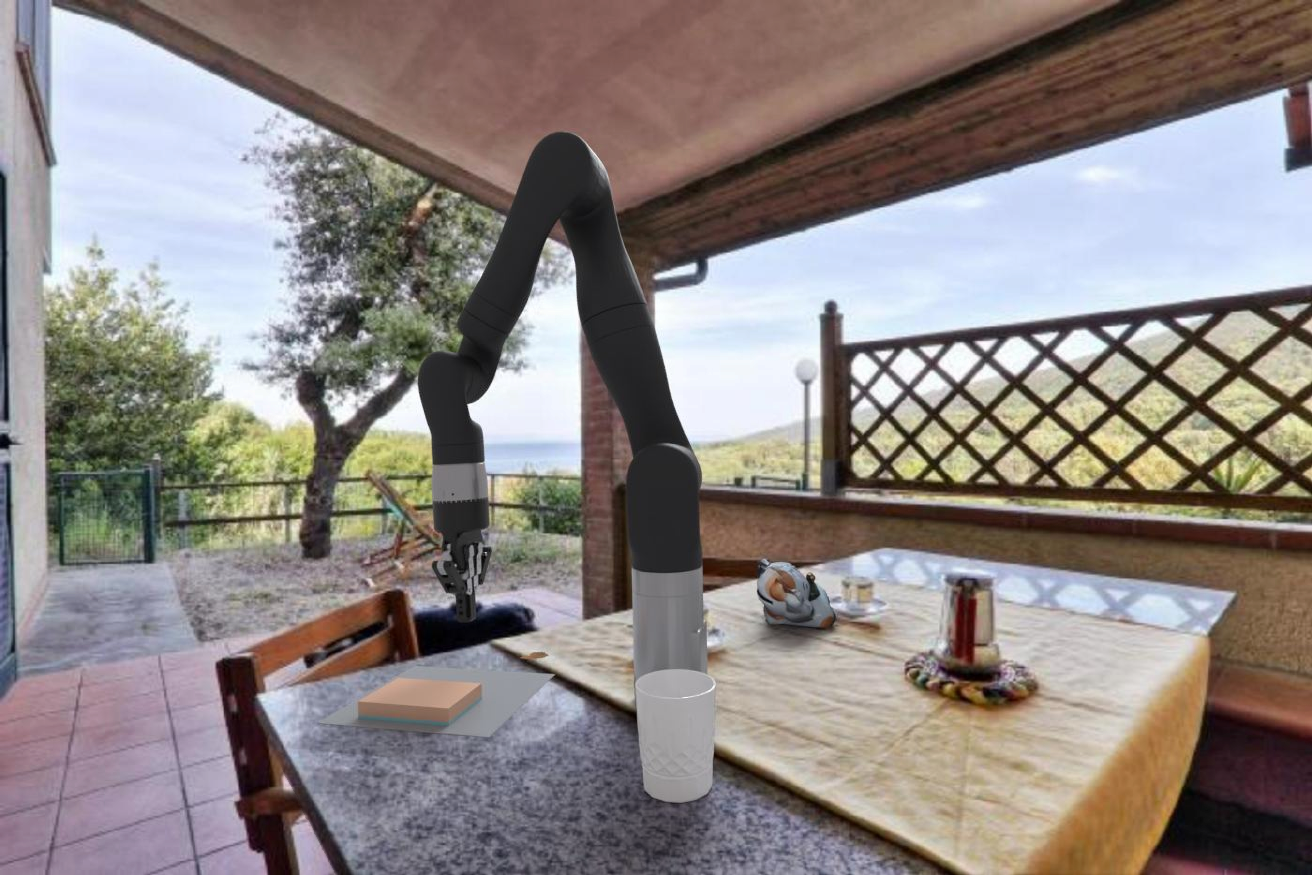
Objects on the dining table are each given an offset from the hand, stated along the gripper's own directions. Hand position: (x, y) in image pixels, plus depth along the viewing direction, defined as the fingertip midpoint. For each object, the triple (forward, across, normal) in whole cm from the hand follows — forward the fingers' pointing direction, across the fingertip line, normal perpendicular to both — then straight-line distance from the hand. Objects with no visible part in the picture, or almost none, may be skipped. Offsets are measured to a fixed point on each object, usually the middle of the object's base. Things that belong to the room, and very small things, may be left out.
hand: (466, 620), depth 93 cm
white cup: (+10, -21, -33) cm, 40 cm away
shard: (+10, +11, -8) cm, 17 cm away
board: (+9, -7, 0) cm, 11 cm away
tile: (+7, -7, +1) cm, 10 cm away
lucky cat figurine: (+11, +38, -44) cm, 59 cm away
